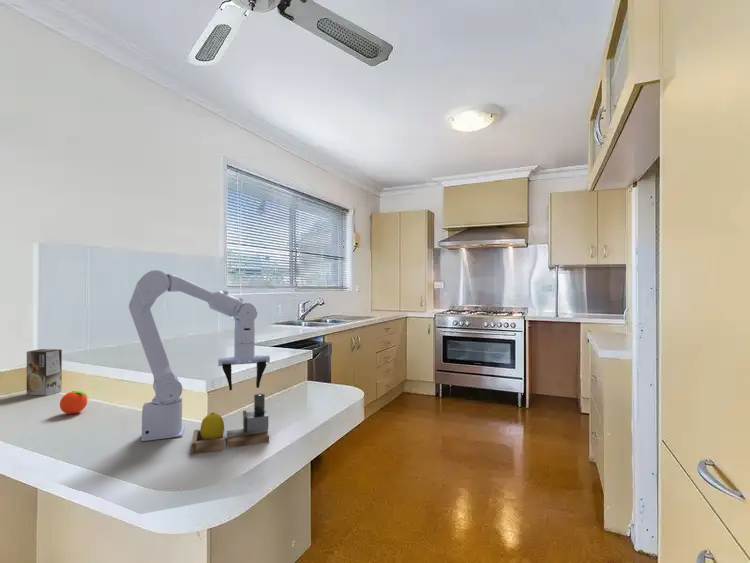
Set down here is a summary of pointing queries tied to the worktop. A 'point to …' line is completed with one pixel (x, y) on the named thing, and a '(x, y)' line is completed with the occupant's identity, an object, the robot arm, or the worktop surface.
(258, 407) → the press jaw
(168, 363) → the robot arm
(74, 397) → the clementine
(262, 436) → the press bed
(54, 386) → the coffee box
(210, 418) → the lemon
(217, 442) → the lemon cradle
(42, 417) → the worktop surface
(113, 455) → the worktop surface
